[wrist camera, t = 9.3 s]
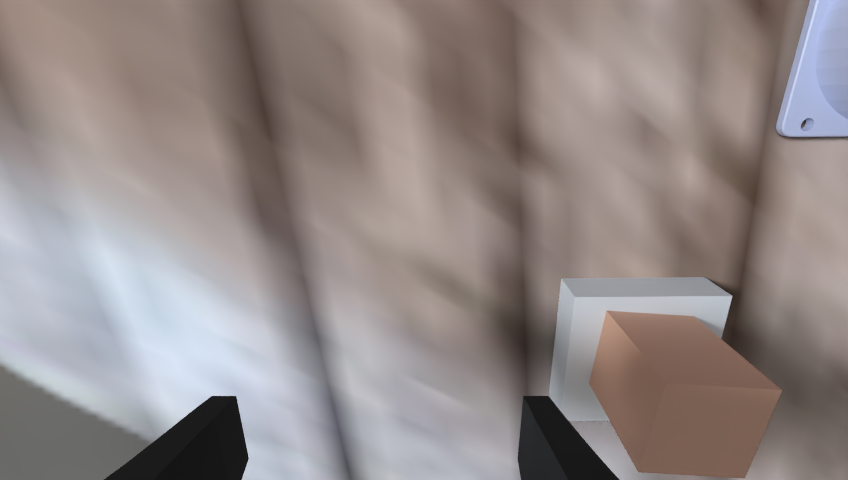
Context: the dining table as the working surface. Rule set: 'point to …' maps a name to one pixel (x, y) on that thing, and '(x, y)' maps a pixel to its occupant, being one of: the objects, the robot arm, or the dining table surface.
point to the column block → (680, 395)
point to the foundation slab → (585, 318)
